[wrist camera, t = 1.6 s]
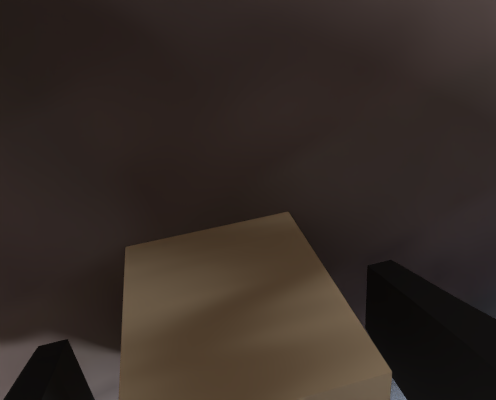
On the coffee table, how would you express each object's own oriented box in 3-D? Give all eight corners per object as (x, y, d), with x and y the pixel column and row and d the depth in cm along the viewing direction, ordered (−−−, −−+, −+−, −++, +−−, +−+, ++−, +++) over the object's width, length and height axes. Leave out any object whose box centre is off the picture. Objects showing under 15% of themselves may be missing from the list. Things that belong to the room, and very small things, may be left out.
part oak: (287, 210, 11) (392, 372, 6) (296, 326, 12) (380, 511, 8) (125, 246, 10) (116, 450, 6) (161, 362, 12) (174, 580, 8)
